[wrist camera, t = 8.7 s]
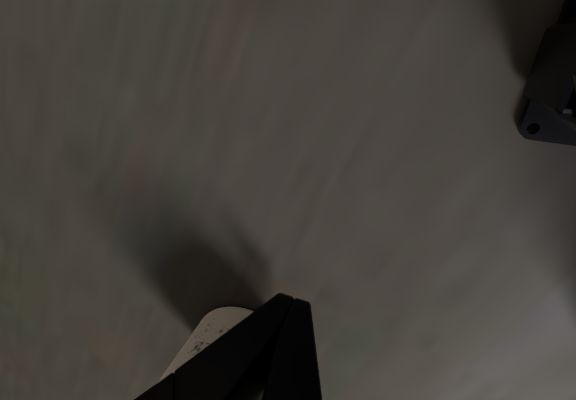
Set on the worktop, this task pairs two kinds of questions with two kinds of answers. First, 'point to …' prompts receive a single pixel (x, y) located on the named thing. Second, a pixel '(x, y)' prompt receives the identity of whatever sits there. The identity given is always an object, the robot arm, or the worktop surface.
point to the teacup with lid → (207, 333)
